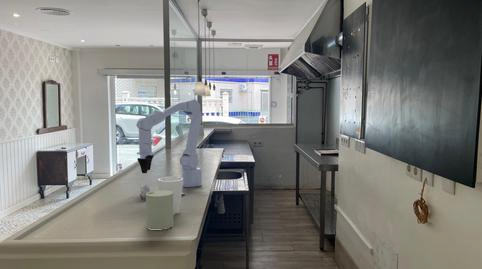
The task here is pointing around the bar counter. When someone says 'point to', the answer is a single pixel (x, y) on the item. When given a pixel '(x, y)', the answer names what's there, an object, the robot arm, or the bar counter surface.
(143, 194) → the plate
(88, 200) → the bar counter surface
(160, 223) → the can
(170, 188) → the foam cup
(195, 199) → the bar counter surface
